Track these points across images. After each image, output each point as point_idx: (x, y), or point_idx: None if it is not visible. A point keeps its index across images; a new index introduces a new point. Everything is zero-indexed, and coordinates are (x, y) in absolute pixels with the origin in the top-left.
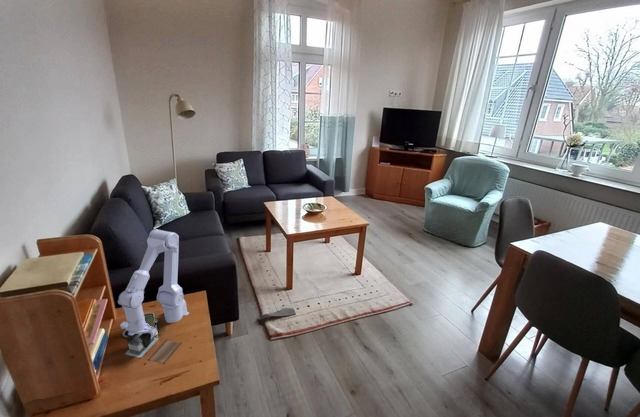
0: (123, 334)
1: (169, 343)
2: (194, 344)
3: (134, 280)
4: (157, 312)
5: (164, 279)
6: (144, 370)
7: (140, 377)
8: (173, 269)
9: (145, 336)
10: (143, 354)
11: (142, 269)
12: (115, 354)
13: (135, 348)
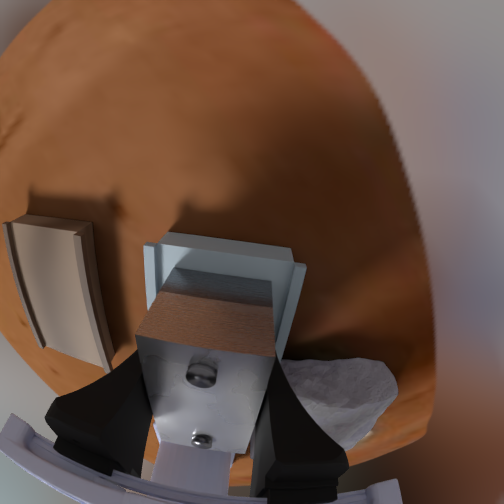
0: (391, 387)
1: (80, 349)
2: (25, 335)
3: None
4: None
5: None
6: (89, 158)
7: (82, 105)
8: None
9: (49, 424)
10: (145, 272)
11: None
12: (390, 264)
13: (186, 313)
